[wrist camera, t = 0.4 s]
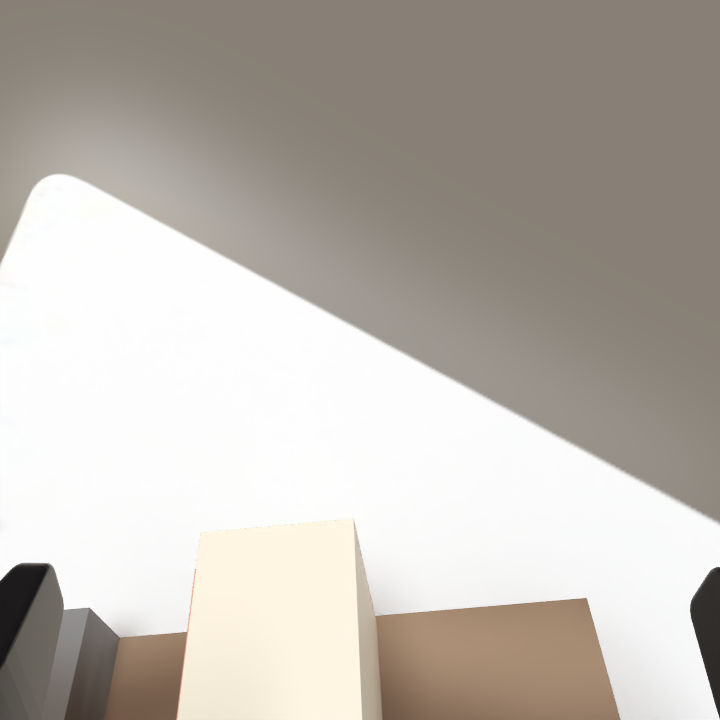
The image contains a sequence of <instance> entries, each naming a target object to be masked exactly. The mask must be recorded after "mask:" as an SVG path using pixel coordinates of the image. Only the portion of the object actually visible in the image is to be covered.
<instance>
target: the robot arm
mask: <svg viewBox="0 0 720 720" xmlns="http://www.w3.org/2000/svg"><path fill="white" fill-rule="evenodd" d="M63 610H64V604H63V597H62V594H61V590H60V587H59V584H58V580H57V577H56V573H55V570H54V568H53V566H52V565H50V564H49V563H21V564H18V565H16V566H15V567H13V568H12V569H11V570H10V571H9V572H8V573H7V574H6V575H5V576H4V577H3V579H2V580H1V581H0V720H41V719H42V715H43V710H44V705H45V700H46V695H47V691H48V686H49V681H50V676H51V671H52V667H53V662H54V657H55V652H56V647H57V643H58V638H59V633H60V628H61V623H62V618H63ZM690 613H691V619H692V623H693V626H694V630H695V633H696V637H697V640H698V644H699V648H700V651H701V655H702V658H703V662H704V665H705V669H706V672H707V676H708V680H709V683H710V687H711V690H712V694H713V697H714V701H715V705H716V708H717V711H718V714H719V717H720V567H716V568H714V569H712V570H711V571H710V572H709V573H708V575H707V576H706V578H705V580H704V581H703V583H702V584H701V586H700V587H699V589H698V590H697V592H696V593H695V595H694V597H693V598H692V600H691V605H690Z"/></svg>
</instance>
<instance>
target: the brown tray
mask: <svg viewBox="0 0 720 720" xmlns="http://www.w3.org/2000/svg"><path fill="white" fill-rule="evenodd" d="M375 618H376V622H377V639H378V655H379V671H380V688H381V704H382V720H620V717H619V713H618V710H617V706H616V702H615V699H614V695H613V692H612V688H611V684H610V681H609V677H608V673H607V670H606V666H605V663H604V659H603V655H602V652H601V648H600V645H599V641H598V637H597V634H596V630H595V626H594V623H593V619H592V616H591V612H590V608H589V605H588V601H587V598H582V599H570V600H559V601H547V602H535V603H523V604H512V605H500V606H488V607H476V608H464V609H453V610H441V611H429V612H417V613H406V614H394V615H382V616H375ZM186 638H187V632H182V633H171V634H159V635H147V636H135V637H123V638H119V637H118V636H117V635H116V634H115V633H114V632H113V631H112V630H111V629H110V628H109V627H108V626H107V625H106V624H105V623H104V622H103V621H102V620H101V619H100V618H99V617H98V616H97V615H96V614H95V613H94V612H93V611H92V610H91V609H90V608H81V609H69V610H63V618H62V623H61V628H60V633H59V638H58V643H57V647H56V652H55V657H54V662H53V667H52V671H51V676H50V681H49V686H48V691H47V695H46V700H45V705H44V710H43V715H42V719H41V720H176V718H177V710H178V702H179V694H180V686H181V678H182V670H183V662H184V654H185V646H186Z"/></svg>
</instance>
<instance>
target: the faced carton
mask: <svg viewBox="0 0 720 720" xmlns="http://www.w3.org/2000/svg"><path fill="white" fill-rule="evenodd" d="M176 720H382V704H381V688H380V671H379V655H378V639H377V622H376V618H375V613H374V609H373V604H372V600H371V595H370V591H369V586H368V582H367V577H366V573H365V568H364V564H363V559H362V555H361V550H360V546H359V541H358V537H357V532H356V528H355V523H354V519H345V520H334V521H323V522H312V523H301V524H290V525H279V526H268V527H257V528H247V529H236V530H225V531H214V532H203V533H200V541H199V549H198V557H197V565H196V569H195V574H194V582H193V590H192V598H191V606H190V614H189V622H188V630H187V638H186V646H185V654H184V662H183V670H182V678H181V686H180V694H179V702H178V710H177V718H176Z"/></svg>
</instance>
